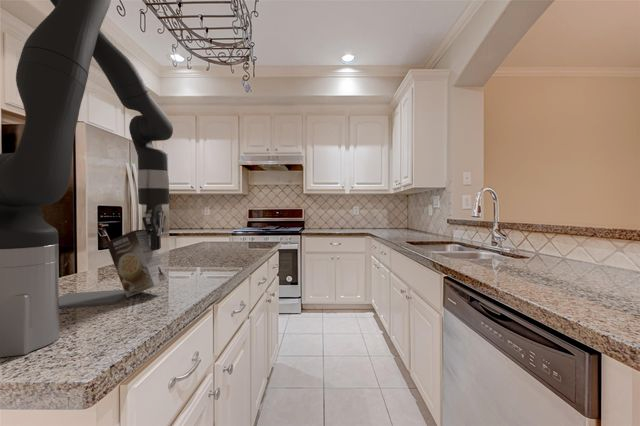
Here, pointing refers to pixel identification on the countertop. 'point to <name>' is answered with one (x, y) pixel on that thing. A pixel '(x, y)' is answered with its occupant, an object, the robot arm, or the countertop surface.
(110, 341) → the countertop surface
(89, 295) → the mat
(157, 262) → the coffee box
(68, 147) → the robot arm
